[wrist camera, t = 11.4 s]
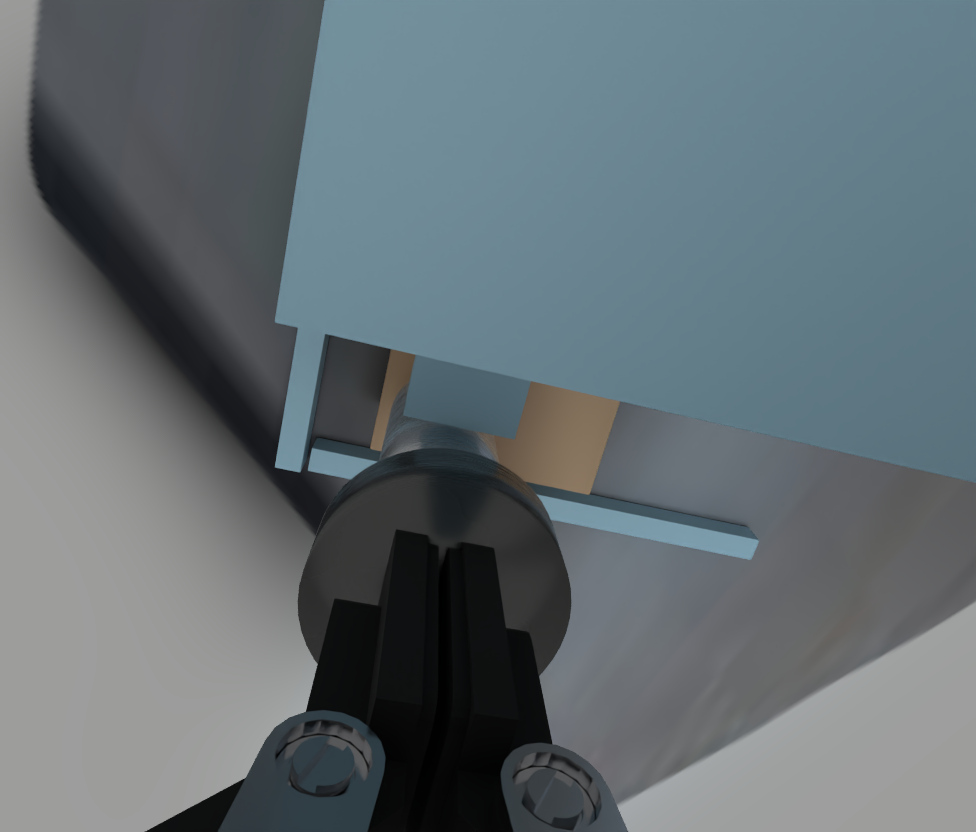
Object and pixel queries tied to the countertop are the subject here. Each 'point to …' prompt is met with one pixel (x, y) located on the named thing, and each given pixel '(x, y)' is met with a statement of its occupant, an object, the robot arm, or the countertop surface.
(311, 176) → the press
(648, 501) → the countertop surface
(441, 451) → the ram
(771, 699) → the countertop surface
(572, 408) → the housing
